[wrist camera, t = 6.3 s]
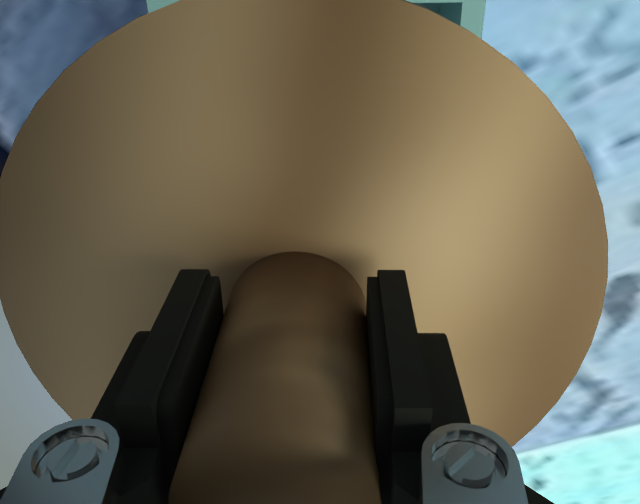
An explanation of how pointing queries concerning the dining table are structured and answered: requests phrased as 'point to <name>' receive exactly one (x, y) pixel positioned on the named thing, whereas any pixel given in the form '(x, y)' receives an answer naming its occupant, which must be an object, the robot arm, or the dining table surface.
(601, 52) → the dining table surface
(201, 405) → the lid
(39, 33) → the dining table surface
